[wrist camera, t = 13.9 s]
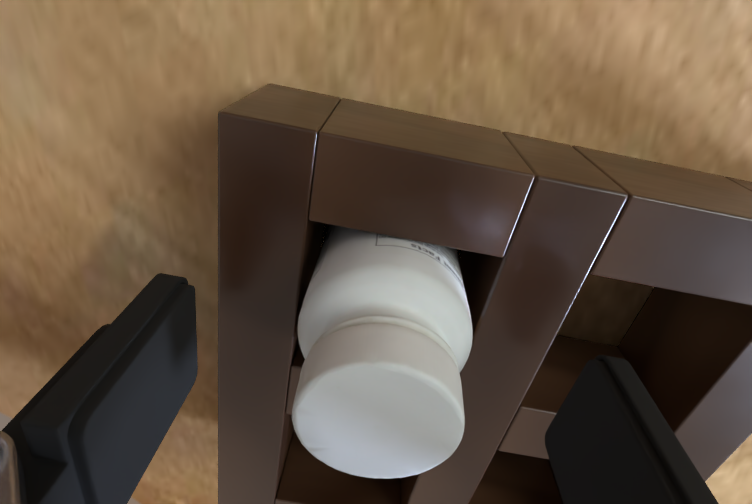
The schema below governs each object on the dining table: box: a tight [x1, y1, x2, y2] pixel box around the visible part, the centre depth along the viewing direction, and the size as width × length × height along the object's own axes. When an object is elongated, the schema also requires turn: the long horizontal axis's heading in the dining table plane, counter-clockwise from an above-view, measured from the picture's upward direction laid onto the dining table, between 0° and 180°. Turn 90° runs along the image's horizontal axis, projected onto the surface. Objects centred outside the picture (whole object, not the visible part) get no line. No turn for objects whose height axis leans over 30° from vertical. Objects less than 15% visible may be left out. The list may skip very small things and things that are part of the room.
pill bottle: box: [292, 225, 473, 479], centre depth 12 cm, size 4×4×8 cm
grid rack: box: [218, 84, 752, 504], centre depth 15 cm, size 16×16×4 cm
